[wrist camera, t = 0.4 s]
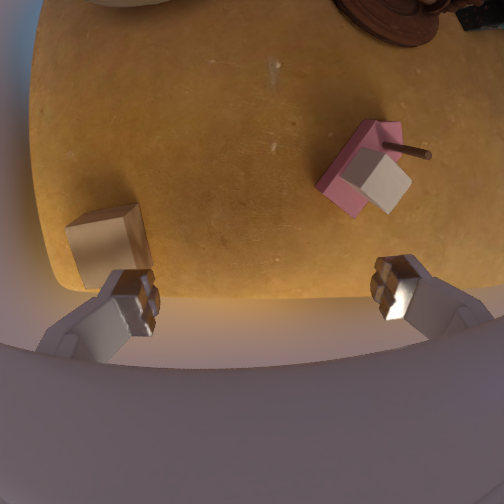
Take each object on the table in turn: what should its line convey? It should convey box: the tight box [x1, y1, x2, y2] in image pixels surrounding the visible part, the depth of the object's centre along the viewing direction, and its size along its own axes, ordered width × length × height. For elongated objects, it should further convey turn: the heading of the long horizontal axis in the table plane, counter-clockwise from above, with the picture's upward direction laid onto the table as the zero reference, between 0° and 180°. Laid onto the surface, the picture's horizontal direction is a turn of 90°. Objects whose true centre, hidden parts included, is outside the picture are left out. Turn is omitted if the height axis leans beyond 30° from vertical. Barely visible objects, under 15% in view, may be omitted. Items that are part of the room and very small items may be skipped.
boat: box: [315, 120, 432, 219], centre depth 23 cm, size 12×5×11 cm, turn 146°
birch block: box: [65, 203, 153, 289], centre depth 29 cm, size 8×8×5 cm
